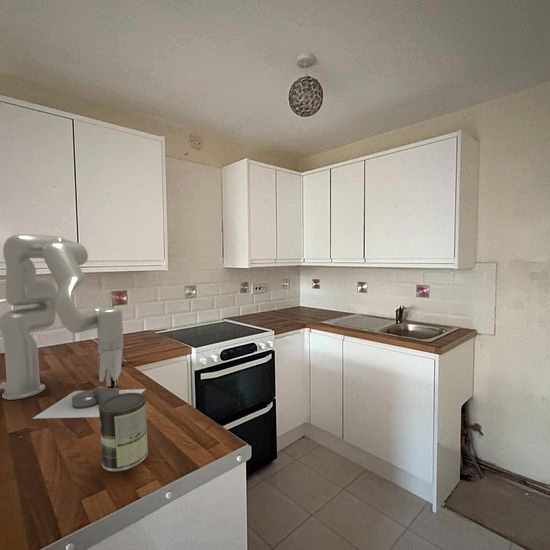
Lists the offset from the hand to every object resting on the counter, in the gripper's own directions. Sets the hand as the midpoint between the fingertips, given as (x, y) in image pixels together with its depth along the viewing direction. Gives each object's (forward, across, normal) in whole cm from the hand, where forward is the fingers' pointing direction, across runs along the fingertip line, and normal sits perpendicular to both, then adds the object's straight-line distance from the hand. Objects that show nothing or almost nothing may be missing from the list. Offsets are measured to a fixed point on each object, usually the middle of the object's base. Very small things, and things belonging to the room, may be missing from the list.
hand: (112, 398), depth 107 cm
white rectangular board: (+2, +1, -6) cm, 6 cm away
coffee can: (+2, +34, +10) cm, 36 cm away
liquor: (+3, -42, -8) cm, 43 cm away
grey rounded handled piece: (0, +2, -4) cm, 5 cm away
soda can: (+3, -26, -8) cm, 27 cm away
